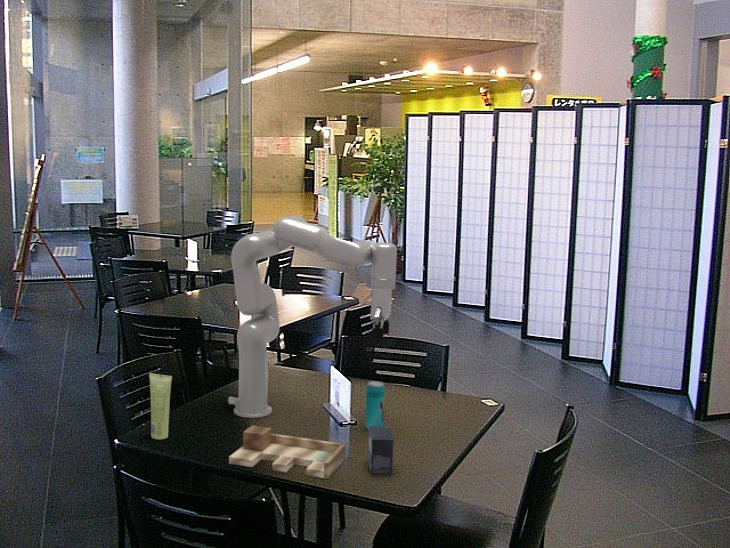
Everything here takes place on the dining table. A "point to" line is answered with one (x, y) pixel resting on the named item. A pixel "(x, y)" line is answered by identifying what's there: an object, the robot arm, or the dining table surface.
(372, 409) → the beverage can
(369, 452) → the small box
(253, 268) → the robot arm
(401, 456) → the dining table surface
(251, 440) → the walnut block
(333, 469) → the trap tray
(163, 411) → the tube
